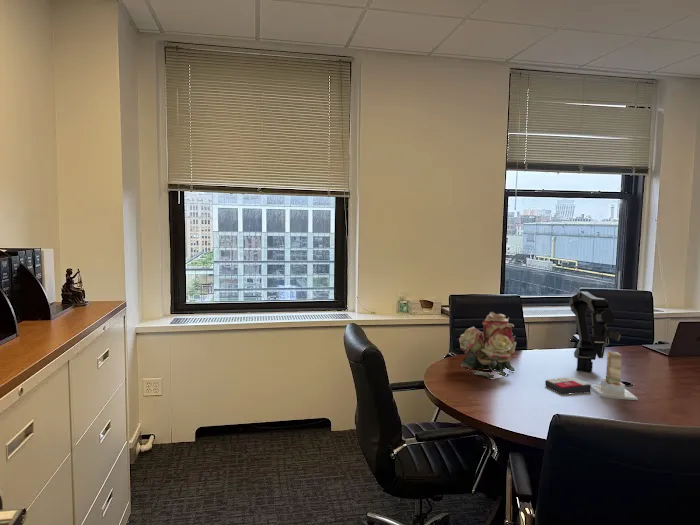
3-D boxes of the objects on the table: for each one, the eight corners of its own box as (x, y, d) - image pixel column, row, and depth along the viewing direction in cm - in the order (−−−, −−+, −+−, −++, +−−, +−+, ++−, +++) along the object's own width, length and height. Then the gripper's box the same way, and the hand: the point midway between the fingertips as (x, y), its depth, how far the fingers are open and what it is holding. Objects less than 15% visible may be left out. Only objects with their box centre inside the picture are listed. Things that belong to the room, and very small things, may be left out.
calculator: (544, 378, 198) (572, 375, 201) (544, 388, 198) (572, 384, 202) (561, 387, 187) (591, 383, 191) (561, 396, 188) (591, 392, 191)
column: (605, 380, 193) (607, 351, 192) (615, 380, 192) (617, 352, 191) (609, 383, 188) (611, 354, 188) (620, 384, 188) (622, 354, 187)
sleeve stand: (588, 386, 198) (589, 374, 198) (621, 388, 196) (622, 376, 196) (601, 397, 185) (602, 385, 184) (637, 400, 183) (638, 387, 182)
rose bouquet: (451, 366, 225) (453, 309, 223) (498, 361, 235) (500, 307, 233) (481, 382, 201) (484, 318, 199) (532, 377, 211) (535, 316, 208)
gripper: (617, 323, 194) (619, 359, 191) (620, 326, 209) (622, 359, 206) (589, 323, 200) (591, 357, 197) (593, 325, 215) (595, 357, 212)
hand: (600, 358), depth 203 cm, fingers open, 9 cm apart
